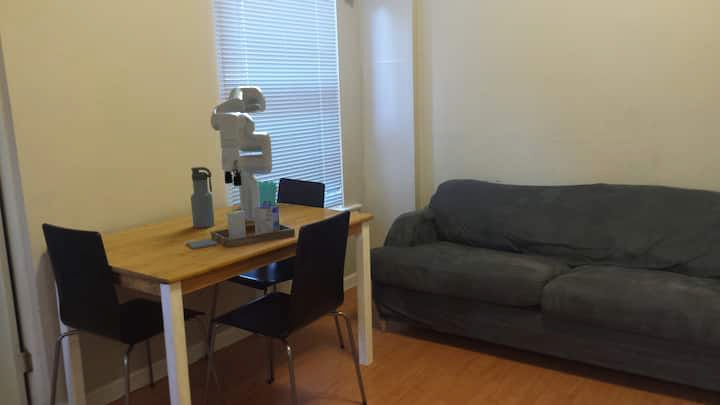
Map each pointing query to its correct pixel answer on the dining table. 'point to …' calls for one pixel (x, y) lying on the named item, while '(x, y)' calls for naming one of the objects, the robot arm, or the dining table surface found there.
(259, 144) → the robot arm
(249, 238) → the tray frame
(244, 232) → the skincare box
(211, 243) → the pad
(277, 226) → the ink cartridge box
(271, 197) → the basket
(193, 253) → the dining table surface
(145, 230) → the dining table surface
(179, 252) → the dining table surface
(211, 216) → the water bottle
